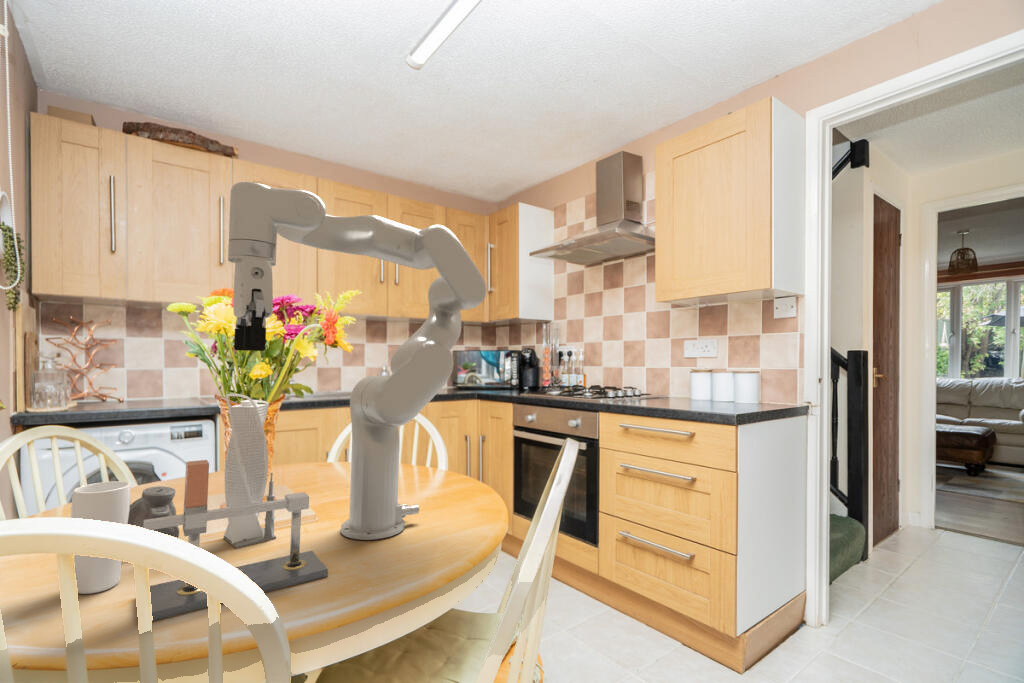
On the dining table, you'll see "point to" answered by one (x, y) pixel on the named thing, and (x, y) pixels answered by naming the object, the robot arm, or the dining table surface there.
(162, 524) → the divider frame
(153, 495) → the pipe fitting
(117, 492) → the grey cup
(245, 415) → the skyscraper
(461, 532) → the dining table surface
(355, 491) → the robot arm
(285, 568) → the bolt plate
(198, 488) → the sliding leg
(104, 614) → the dining table surface
